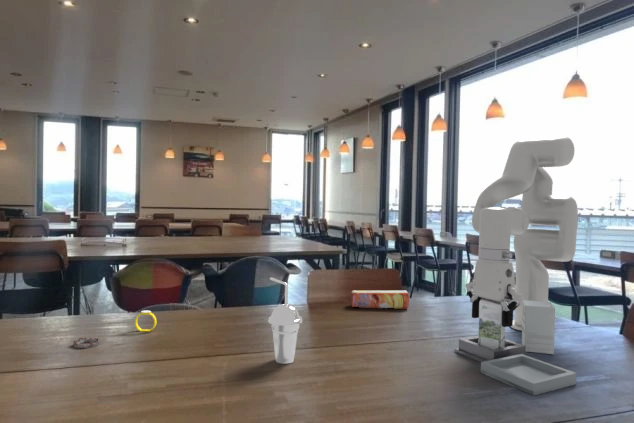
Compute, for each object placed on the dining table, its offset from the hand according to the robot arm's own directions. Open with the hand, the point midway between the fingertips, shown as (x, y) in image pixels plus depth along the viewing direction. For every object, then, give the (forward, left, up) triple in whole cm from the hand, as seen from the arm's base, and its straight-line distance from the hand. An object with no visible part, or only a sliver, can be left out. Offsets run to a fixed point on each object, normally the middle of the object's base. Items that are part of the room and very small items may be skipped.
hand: (491, 321), depth 119 cm
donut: (+93, -52, -10) cm, 107 cm away
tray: (+4, +14, -9) cm, 17 cm away
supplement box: (-17, +1, -9) cm, 19 cm away
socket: (-1, 0, -9) cm, 9 cm away
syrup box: (-1, 0, -9) cm, 9 cm away
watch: (+76, -60, -9) cm, 97 cm away
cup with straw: (+49, -20, -9) cm, 54 cm away
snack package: (-6, -57, -9) cm, 58 cm away
